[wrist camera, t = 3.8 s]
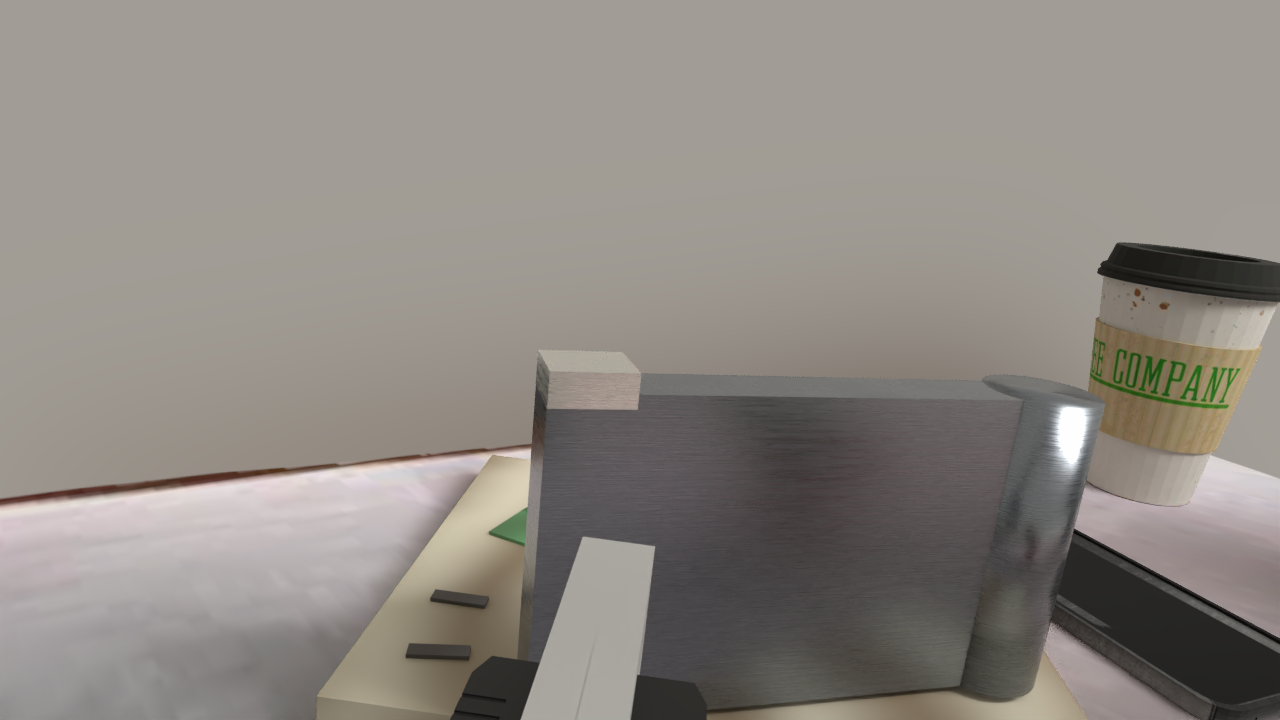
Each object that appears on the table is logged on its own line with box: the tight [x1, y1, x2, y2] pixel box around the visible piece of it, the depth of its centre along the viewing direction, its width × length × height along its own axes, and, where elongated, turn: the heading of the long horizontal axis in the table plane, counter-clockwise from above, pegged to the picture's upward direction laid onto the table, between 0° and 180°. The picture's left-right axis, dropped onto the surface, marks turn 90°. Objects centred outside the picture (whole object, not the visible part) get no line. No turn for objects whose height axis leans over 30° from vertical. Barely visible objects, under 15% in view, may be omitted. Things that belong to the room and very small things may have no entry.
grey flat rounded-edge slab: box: [517, 350, 1105, 710], centre depth 26 cm, size 18×4×11 cm, turn 105°
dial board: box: [316, 455, 1088, 720], centre depth 34 cm, size 24×20×2 cm
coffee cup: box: [1086, 243, 1280, 506], centre depth 52 cm, size 10×10×15 cm
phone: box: [1051, 529, 1280, 720], centre depth 38 cm, size 8×1×15 cm
